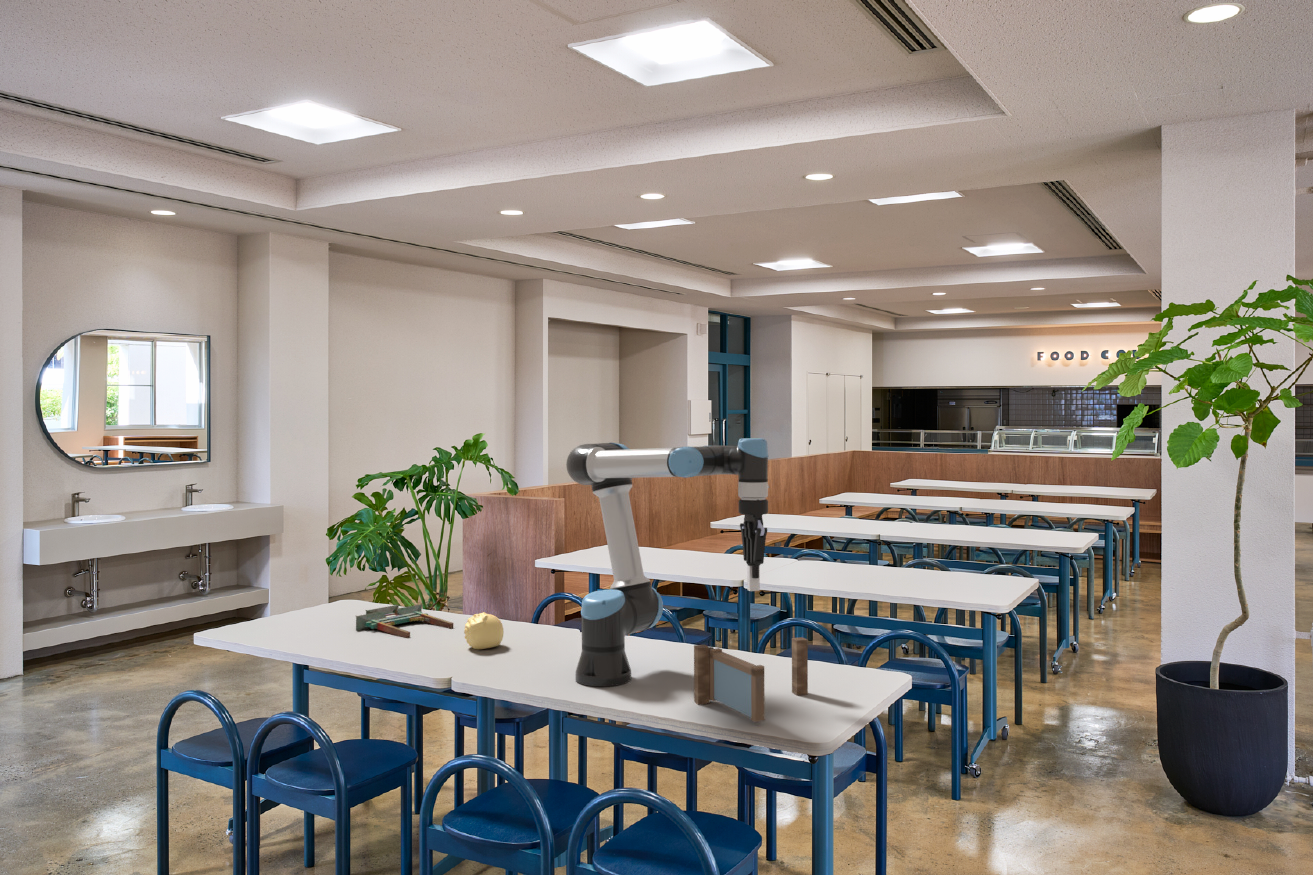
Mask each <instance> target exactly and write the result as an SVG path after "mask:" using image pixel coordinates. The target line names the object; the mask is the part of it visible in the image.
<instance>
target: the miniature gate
mask: <svg viewBox="0 0 1313 875" xmlns="http://www.w3.org/2000/svg"><path fill="white" fill-rule="evenodd" d="M399 605H400V604H399V603H398V604H394V605H389V606H388V605H387V606H383V607H378V608H373V609H365V614H360V615H355V619H356V620H355V631H361V630H366V629H372V630H375V629H376V630H378V631H382V632H385V633H387V634H390V635H393V636H398V637H401V638H411V631H408V630H405V629H403V628H399V627H397V626H395V625H399V624H405V623H410V622H415V621H419V622H420V621H422V622H425V623H428V624H431V625H433V626H436V627H441V628H446V629H454V622H452V621H448V620H446V619H442V618H440V617H435V616H433V615H430V614H429V613H423V610H422V608H423V607H422V605H423V604H422V603H420V604H415V605H410V606H404V607H399Z"/></svg>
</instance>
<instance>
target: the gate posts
mask: <svg viewBox="0 0 1313 875" xmlns="http://www.w3.org/2000/svg"><path fill="white" fill-rule="evenodd" d="M808 641H809V640H808V639H806V638H805V637H803V636H802V637H792V638H791V693H792V694H794V695H795V696H806V695H808V694H809V693H808V692H809V691H808V690H809V688H808V687H809V685H808V683H809V682H808V676H809V674H808V673H809V672H808V665H809V664H808V663H809V658H808V652H809V650H808V645H809V644H808ZM710 649H715V647H713V646H708V645H706V644H697V645H696V644H695V645H693V663H694V664H693V691H694V693H693V701H694V703H696V704H697V705H698V706H699V705H700V704H701V705H708V704H707V703H711V702H710V701H711V700H710Z"/></svg>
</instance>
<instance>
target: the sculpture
mask: <svg viewBox="0 0 1313 875" xmlns="http://www.w3.org/2000/svg"><path fill="white" fill-rule="evenodd" d="M463 632H464V633H463V634H464V635H465V636H464V639H465V640H466V641H465V642H466V643H467V644H468V646H469V647H471V648H472V649H474V650H484V649H485V650H486V649H490V648H496V647H498V646H500V645H501V643H502V641H503V638H504V626H503V623H502V621H501V619H499V618H498V617H497V616H495V615H493V614H491V613H490V614H489V613H486V612H485V611H483V612H481V613H480V612H479V613H475V614H473V615H472V616H471V617H469V618H467V622H466V623H465V624H464V631H463Z"/></svg>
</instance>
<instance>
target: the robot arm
mask: <svg viewBox="0 0 1313 875" xmlns="http://www.w3.org/2000/svg"><path fill="white" fill-rule="evenodd" d="M768 448H769V447H768V442H767V440H766V439H765V438H759V437H757V438H756V437H755V438H752V437H751V438H749V437H748V438H747V437H745V438H739V440H738V442H737V445H717V444H709V445H704V446H679V447H657V448H656V447H654V448H653V447H651V448H633V449H631V448H629V447H627V445H625V444H623V443H615V442H604V443H603V442H602V443H599V442H598V443H584V444H579V445H577V446H576V447H574V448H573V449H572V450H571V451H570V452H569V453H568V455H567V459H566V464H565V465H566V471H567V474H568V476H569V477H570V478H571V480H573V481H574V482H575V483H577V484H579V485H583V486H591V491H592V494H593V495H595V496H596V497H597V498H599V505H600V511H601V516H602V521H603V527H604V531H605V537H606V538H605V539H606V542H607V548H608V549H607V550H608V554H609V560H610V564H611V571H612V576H613V583H612V584H611V585H610V587H609V589H603V590H595V591H592V592H589V593H588V594H586V595H585V596H584V597H583V598H582V601H581V609H580V615H581V618H580V620H581V653H580V656H579V659H578V662H577V666H576V669H575V682H577V683H578V684H581V685H584V686H590V687H612V686H613V687H614V686H620V685H624V684H626V683H629V682H630V681H631V680H632V669H631V666H630V662H629V660H628V657H627V653H626V650H625V649H626V648H625V646H626V645H625V644H626V642H625V640H626V639H625V637H626V636H627V635H631V634H634V633H639V632H644V631H647V630H648V629H651V628H652V627H654V626H656V625H657V624H658V623H659V622H660V620H661V618H662V616H663V612H664V602H663V599H662V596H661V594H660V592H657V589H655V588H654V587H652V583H651V582H652V581H651V579H650V578H648V577H647V576H645V574H644V569H643V564H642V563H643V562H642V559H641V558H642V557H641V554H640V553H641V552H640V548H639V542H638V538H637V537H638V536H637V531H636V526H635V521H634V516H633V509H632V503H631V499H630V490H631V489H632V488H633V481H632V480H633V479H634V478H635V479H636V478H637V479H638V478H678V477H679V478H685V479H686V478H693V477H701V476H702V477H704V476H715V475H716V476H717V475H736V476H737V475H738V479H737V480H738V482H737V483H738V484H737V486H738V487H737V491H738V493H737V494H738V498H740V499H739V500H738V513H739V514H740V515H744V517H743V522H742V523H739V528H740V531H741V543H742V553H743V554H742V555H743V561H744V562H746V565H747V591H749V592H759V591H761V590H760V583H761V582H760V576H761V575H760V566H761V565H763V564H764V563H765V562H764V560H765V550H766V541H767V540H766V539H767V538H766V537H767V534H768V527H764V520H763V515H767V514H768V512H769V501H768V499H767V497H769V492H768V491H769V489H770V486H769V484H768V483H769V479H768V478H769V477H768V476H769V475H768V473H769V472H768V471H769V470H768V468H769V465H768V464H769V450H768Z"/></svg>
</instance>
